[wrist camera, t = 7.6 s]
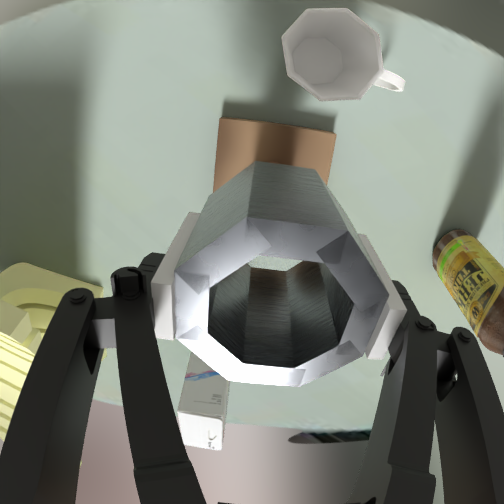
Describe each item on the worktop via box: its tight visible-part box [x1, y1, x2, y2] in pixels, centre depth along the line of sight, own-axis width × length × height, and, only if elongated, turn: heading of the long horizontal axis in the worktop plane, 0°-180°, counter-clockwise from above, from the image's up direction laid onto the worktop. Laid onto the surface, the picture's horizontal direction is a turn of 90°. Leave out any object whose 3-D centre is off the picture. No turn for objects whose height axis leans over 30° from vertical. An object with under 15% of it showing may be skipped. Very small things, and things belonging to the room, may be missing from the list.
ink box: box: [177, 351, 230, 450], centre depth 36 cm, size 8×5×12 cm, turn 176°
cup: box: [281, 8, 406, 101], centre depth 21 cm, size 7×10×8 cm
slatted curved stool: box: [0, 262, 107, 466], centre depth 31 cm, size 30×16×18 cm, turn 166°
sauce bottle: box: [433, 229, 504, 357], centre depth 24 cm, size 6×6×20 cm
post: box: [213, 117, 336, 193], centre depth 25 cm, size 10×10×10 cm
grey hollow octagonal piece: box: [174, 161, 389, 387], centre depth 16 cm, size 8×8×8 cm
